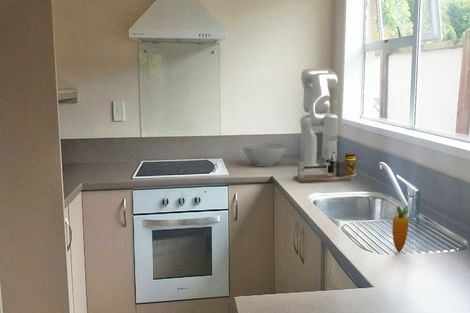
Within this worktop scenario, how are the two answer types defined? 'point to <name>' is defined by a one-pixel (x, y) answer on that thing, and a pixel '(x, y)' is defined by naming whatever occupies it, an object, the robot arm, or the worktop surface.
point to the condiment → (350, 164)
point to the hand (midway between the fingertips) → (329, 171)
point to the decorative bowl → (264, 153)
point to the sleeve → (326, 165)
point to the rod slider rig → (336, 177)
